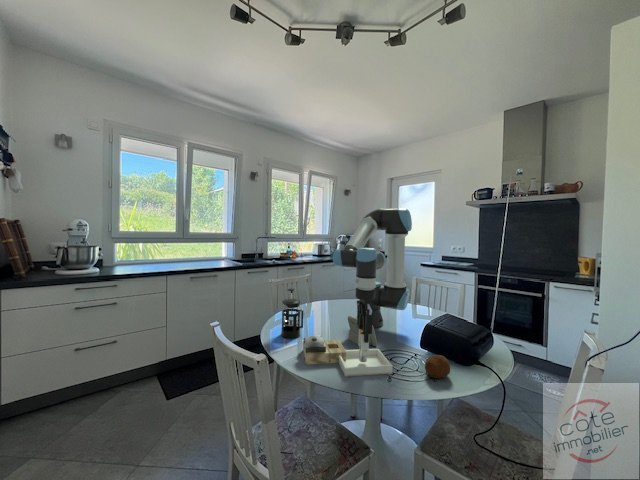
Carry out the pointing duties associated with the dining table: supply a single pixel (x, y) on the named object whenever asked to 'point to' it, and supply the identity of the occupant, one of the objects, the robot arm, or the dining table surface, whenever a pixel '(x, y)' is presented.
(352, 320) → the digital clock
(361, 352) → the pin
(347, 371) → the tray
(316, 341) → the wooden holder
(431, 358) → the potato
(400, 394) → the dining table surface
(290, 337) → the french press
